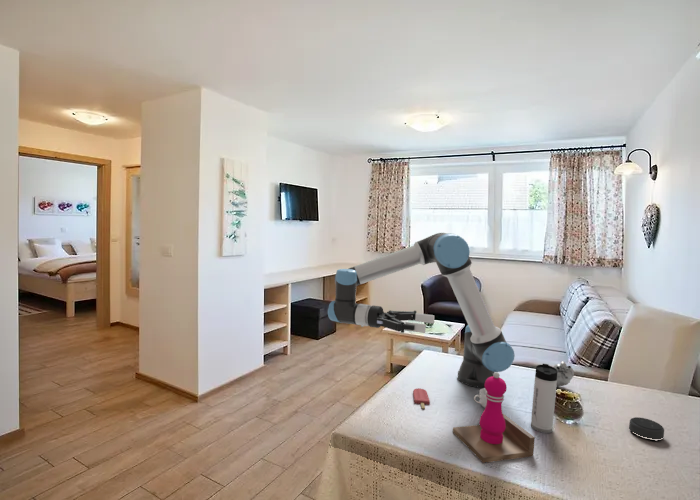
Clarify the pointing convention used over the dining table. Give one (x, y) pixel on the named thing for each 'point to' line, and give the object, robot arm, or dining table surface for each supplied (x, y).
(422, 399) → the popsicle
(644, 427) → the smart speaker
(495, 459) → the spice board
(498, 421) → the pepper mill
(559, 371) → the grey rounded lump
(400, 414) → the dining table surface
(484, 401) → the teacup
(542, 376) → the travel mug
